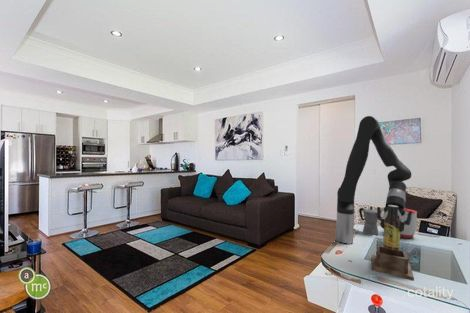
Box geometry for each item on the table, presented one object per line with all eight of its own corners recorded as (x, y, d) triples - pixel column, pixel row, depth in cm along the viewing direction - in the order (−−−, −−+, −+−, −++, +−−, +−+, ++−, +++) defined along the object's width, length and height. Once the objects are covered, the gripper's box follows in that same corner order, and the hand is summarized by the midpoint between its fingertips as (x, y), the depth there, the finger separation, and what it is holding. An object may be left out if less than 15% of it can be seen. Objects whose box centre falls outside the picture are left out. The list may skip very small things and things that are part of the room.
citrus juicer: (404, 231, 160) (405, 202, 160) (422, 240, 143) (423, 208, 143) (381, 230, 162) (382, 201, 162) (396, 238, 144) (396, 207, 144)
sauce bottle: (380, 246, 108) (380, 204, 109) (392, 245, 109) (393, 204, 109) (390, 251, 102) (391, 207, 102) (403, 251, 102) (404, 206, 103)
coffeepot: (384, 235, 150) (385, 208, 150) (375, 237, 146) (376, 209, 146) (363, 228, 164) (363, 203, 164) (354, 230, 160) (354, 204, 160)
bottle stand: (371, 269, 103) (372, 253, 103) (372, 257, 116) (372, 242, 116) (413, 280, 95) (414, 262, 95) (409, 265, 108) (409, 249, 108)
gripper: (377, 193, 116) (372, 221, 107) (413, 197, 106) (411, 228, 97) (379, 202, 120) (374, 230, 111) (414, 206, 110) (412, 237, 101)
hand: (391, 229), depth 104 cm, fingers closed on sauce bottle, 6 cm apart
